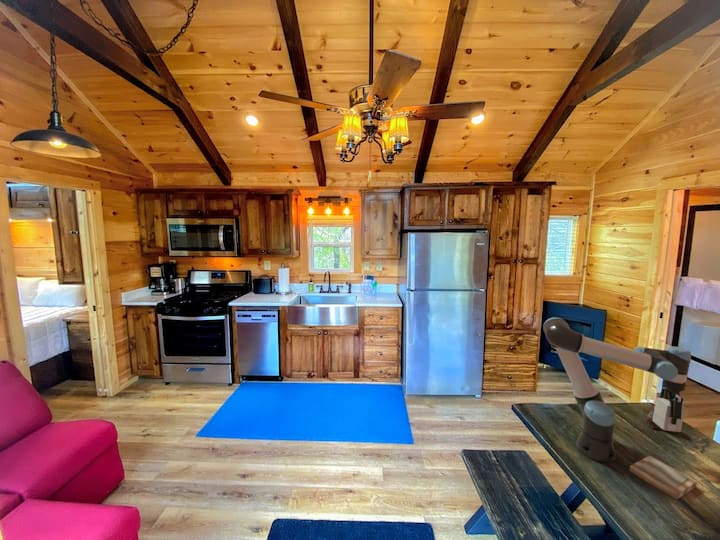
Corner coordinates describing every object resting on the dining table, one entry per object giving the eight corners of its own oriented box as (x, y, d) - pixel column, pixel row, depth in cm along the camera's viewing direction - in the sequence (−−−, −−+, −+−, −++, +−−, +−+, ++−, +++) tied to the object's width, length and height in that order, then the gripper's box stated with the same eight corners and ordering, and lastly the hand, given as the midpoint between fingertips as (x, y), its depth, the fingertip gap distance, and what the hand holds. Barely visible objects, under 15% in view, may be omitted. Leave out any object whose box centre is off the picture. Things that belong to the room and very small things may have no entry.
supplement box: (681, 432, 143) (686, 407, 141) (662, 430, 145) (667, 405, 143) (669, 422, 151) (673, 398, 149) (651, 420, 152) (655, 396, 150)
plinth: (676, 499, 124) (677, 493, 123) (629, 470, 138) (630, 464, 138) (696, 486, 130) (697, 480, 129) (649, 460, 144) (649, 454, 144)
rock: (673, 438, 161) (670, 427, 169) (679, 424, 159) (676, 414, 167) (644, 426, 168) (642, 416, 176) (649, 413, 166) (648, 404, 173)
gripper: (698, 392, 133) (688, 439, 137) (673, 371, 152) (666, 413, 155) (675, 388, 136) (666, 434, 140) (654, 368, 155) (647, 410, 158)
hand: (666, 423), depth 147 cm, fingers closed on supplement box, 8 cm apart
